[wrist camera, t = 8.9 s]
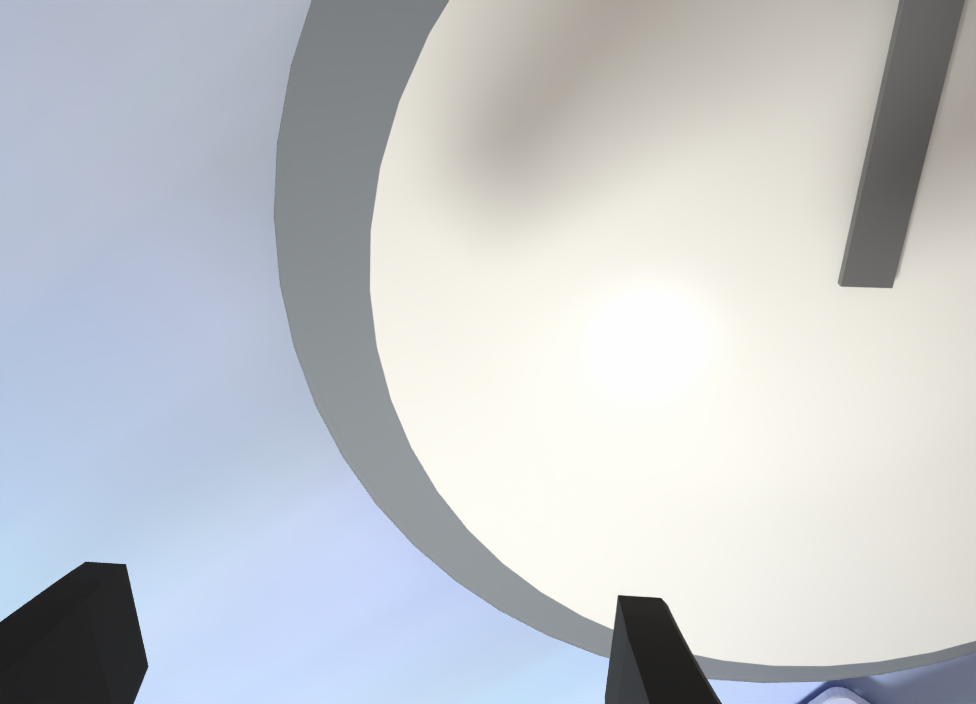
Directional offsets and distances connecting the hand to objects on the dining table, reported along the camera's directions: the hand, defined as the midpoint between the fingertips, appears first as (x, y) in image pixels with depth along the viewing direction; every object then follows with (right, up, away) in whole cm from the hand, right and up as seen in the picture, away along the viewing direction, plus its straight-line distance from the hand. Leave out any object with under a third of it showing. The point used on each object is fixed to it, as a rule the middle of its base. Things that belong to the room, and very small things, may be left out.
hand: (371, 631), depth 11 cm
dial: (+9, +6, +6) cm, 12 cm away
